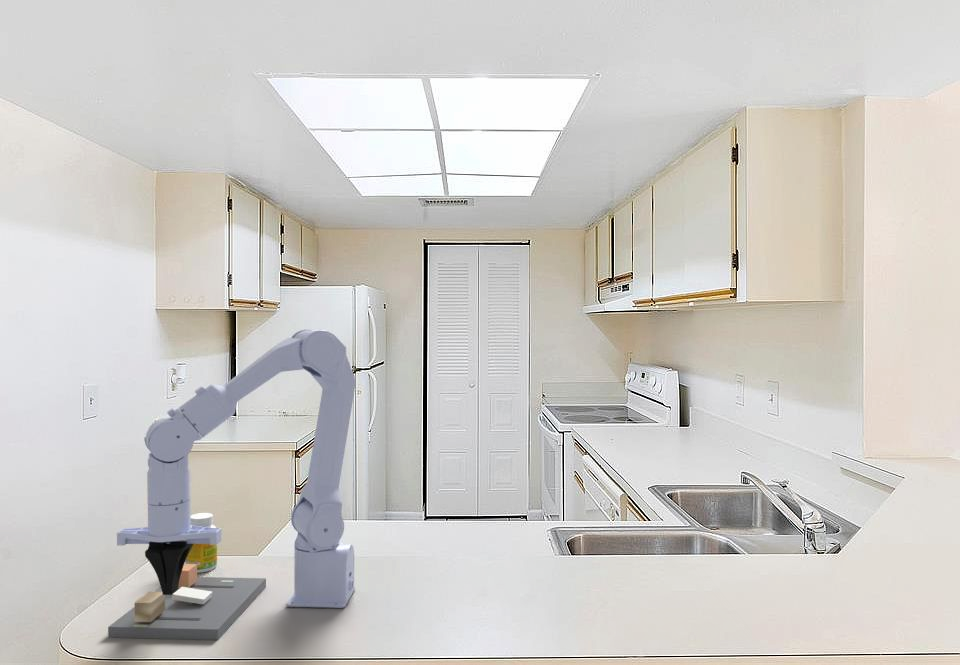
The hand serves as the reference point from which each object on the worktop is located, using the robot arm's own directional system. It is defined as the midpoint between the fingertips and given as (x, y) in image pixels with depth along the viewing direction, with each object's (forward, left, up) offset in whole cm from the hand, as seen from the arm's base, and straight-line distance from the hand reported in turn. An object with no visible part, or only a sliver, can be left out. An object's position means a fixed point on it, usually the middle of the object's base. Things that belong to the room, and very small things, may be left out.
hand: (170, 592), depth 98 cm
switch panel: (0, -6, -5) cm, 8 cm away
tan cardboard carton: (+3, 0, -4) cm, 5 cm away
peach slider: (+4, -12, -4) cm, 13 cm away
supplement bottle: (+7, -24, -6) cm, 25 cm away
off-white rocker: (0, -6, -3) cm, 7 cm away
